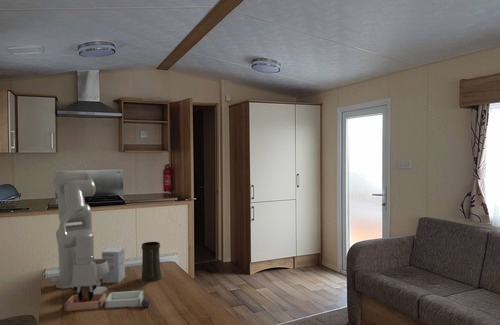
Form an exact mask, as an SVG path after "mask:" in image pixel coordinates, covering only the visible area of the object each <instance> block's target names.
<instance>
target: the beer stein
mask: <svg viewBox="0 0 500 325" xmlns="http://www.w3.org/2000/svg"><path fill="white" fill-rule="evenodd" d="M160 247H161V244H160V242H159V241H148V242H147V241H146V242H142V244H141V250H142V262H141V281H143V282H148V283H149V282H156V281H160V280H161V279H162V270H161V263H160V262H161V261H160V260H161V259H160Z"/></svg>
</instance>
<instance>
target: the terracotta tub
mask: <svg viewBox="0 0 500 325" xmlns="http://www.w3.org/2000/svg"><path fill="white" fill-rule="evenodd" d="M106 299H107V292H102V293H97V294H93V298H92V300H91V301H90V302H82V301H79V299H78V294H72V295H71V296H70V298H68V300H66V302H65V303H64V311H65V312H66V311H67V312H68V311H69V312H70V311H82V310H95V309H96V310H98V309H102V307H103V306H104V305H105V300H106Z"/></svg>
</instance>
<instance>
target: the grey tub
mask: <svg viewBox="0 0 500 325" xmlns="http://www.w3.org/2000/svg"><path fill="white" fill-rule="evenodd" d="M106 298H107V299H106V300H105V302H104V308H105V309H111V308H120V307H121V308H125V307H129V308H139V307H141V306H142V304H141V302H142V300H143V299H145V298H144V290H130V291H115V292H114V291H112V292H109V294H108V296H106Z"/></svg>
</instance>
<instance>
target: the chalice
mask: <svg viewBox="0 0 500 325" xmlns="http://www.w3.org/2000/svg"><path fill="white" fill-rule="evenodd" d="M94 262H95V263H96V267H97V274H98V279H99V280H100V281H101V279H103V277H104V276H106V275H107V273H108V272H109V266H108V263H107V261H106V260H104V259H102V258H94ZM96 284H97V283H96ZM96 284H95V285H96ZM107 290H108V287H106V286H103V285H102V286H101V285H100V286H98V287H96V288H95V289H94V291H93V294H97V293H105V292H106V291H107Z"/></svg>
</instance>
